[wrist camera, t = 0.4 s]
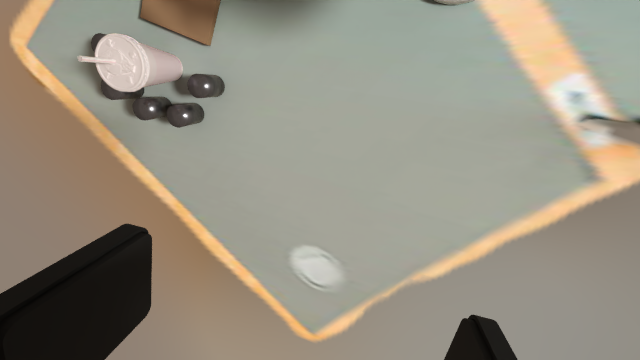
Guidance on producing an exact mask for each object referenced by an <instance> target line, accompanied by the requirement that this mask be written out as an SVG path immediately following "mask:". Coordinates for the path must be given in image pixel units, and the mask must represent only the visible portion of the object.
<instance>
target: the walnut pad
mask: <svg viewBox="0 0 640 360" xmlns="http://www.w3.org/2000/svg"><path fill="white" fill-rule="evenodd" d="M220 1H221V0H143V2H142V9H141V16H140V17H141V18H143V19H146V20H148V21H151V22H153V23H155V24H158V25H160V26H163V27H165V28H167V29H170V30H172V31H175V32H177V33H180V34H182V35H184V36H187V37H189V38H192V39H194V40H197V41H199V42H201V43H204V44H206V45H211V40H212V36H213V31H214V27H215V23H216V18H217V14H218V9H219V5H220Z"/></svg>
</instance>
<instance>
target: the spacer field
mask: <svg viewBox="0 0 640 360" xmlns="http://www.w3.org/2000/svg"><path fill="white" fill-rule="evenodd" d="M104 36H106V34H101V33H98V34H95V35H94V36H93V38H92V41H91V45H92V49H93V51H94V52H95V49H96V46H97V44H98V42H99V41H100V40H101V38H103V37H104ZM187 85H188V90H189V92H190V93H191V94H192V95H193V96H194V97H196V98H206V97H218V96H220V95H222V93H223V92H224V88H225V86H224V82H223V80H222V79H221V78H220V77H219V76H216V75H205V74H194V75H192V76H191V77H190V78H189V79H188V83H187ZM101 90H102V92H103V94H104V95H105V96H106V97H107V98H109V99H111V100H118V99H134V98H138V99H136V100H135V101H134V103H133V111H134V114H135V115H136V116H137V117H138V118H139V119H141V120H150V119H156V118H163V117H167V119H168V121H169V122H170V124H171V125H173V126H175V127H183V126H188V125H192V124H196V123H200V122H201V121H202V120H203V118H204V111H203V109H202V107H201V106H200V105H198V104H196V103H189V104H180V105H172V104H171V102H170V100H169V99H167V98H165V97H150V98H140V97H142V95H143V93H144V87H142V88H141V89H140V90H137V91H135V92H123V91H118V90H115V89H113V88H112V87H110V86H109V85H108V84H107V83H106V82H105V81H104V80H102V82H101Z"/></svg>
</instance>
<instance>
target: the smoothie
mask: <svg viewBox="0 0 640 360" xmlns="http://www.w3.org/2000/svg"><path fill="white" fill-rule="evenodd" d="M78 60H79V61H80V62H93V63H95V64H96V67H97V70H98V72H99V74H100V76H101V77H102V79H103V80H104V81H105V82H106V83H107V84H108V85H109V86H110V87H112V88H113V89H115V90H118V91H123V92H135V91H137V90H140V89H141V88H142V87H146V86H151V85H156V84H161V83H166V82H171V81H176V80H178V79H179V78H180V77H181V75H182V72H183V67H182V63H181V61H180V60H179V59H178V58H177V57H176V56H175V55H172V54H170V53H167V52H164V51H161V50H158V49H156V48H153V47H150V46H147V45H145V44H142V43H139V42H137V41H136V40H135V39H133V38H132V37H130V36H128V35H123V34H115V33H114V34H108V35H106V36H104V37H103V38H101V40H100V41H99V42H98V44H97V46H96V49H95V57H87V56H78Z"/></svg>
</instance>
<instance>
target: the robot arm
mask: <svg viewBox="0 0 640 360" xmlns="http://www.w3.org/2000/svg"><path fill="white" fill-rule="evenodd" d="M434 1H436V2H438V3H443V4H447V5H459V4H464V3H469V2H471V1H474V0H434ZM151 269H152V237H151V235H149V234H148V231H147V230H146V229H145V228H143V227H138V226H135V225H131V224H124V225H121V226H120V227H118V228H117V229H115V230H113V231H111V232H109V233H107V234H106V235H104V236H102V237H100V238H98V239H97V240H95V241H93V242H91V243H90V244H88V245H86V246H84V247H82V248H81V249H79V250H77V251H75V252H74V253H72V254H70V255H68V256H67V257H65V258H63V259H61V260H59V261H58V262H56V263H54V264H52V265H51V266H49V267H47V268H45V269H43V270H42V271H40V272H38V273H36V274H35V275H33V276H32V277H30V278H28V279H26V280H24V281H22V282H21V283H19V284H17V285H15V286H13V287H12V288H10V289H8V290H6V291H4V292H3V293H1V294H0V360H105V359H106V358H107V357H108V355H109V354H110V353H111V352H112V351H113V350H114V349H115V348H116V347H117V346H118V345H119V344H120V343H121V342H122V341H123V340H124V339H125V338H126V337H127V336H128V335H129V334H130V333H131V332H132V331H133V329H134V328H135V327H136V326H137V325H138V324H139V323H140V322H141V321H142V320H143V319H144V318H145V317H146V316H147V314H148V312H149V310H150V307H151V271H152V270H151ZM444 360H517V358H516V356H515V354H514V352H513V351H512V349H511V347H510V345H509V343H508V341H507V340H506V338H505V336H504V334H503V332H502V331H501V329H500V327H499V325H498V324H497V322H496V321H494V320H492V319H488V318H484V317H480V316H476V315H471V316H469V318H468V319H466V318H464V319H462V321H461V323H460V325H459V328H458V330H457V332H456V334H455V336H454V339H453V341H452V343H451V345H450V348H449V350H448V352H447V354H446V357H445V359H444Z"/></svg>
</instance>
